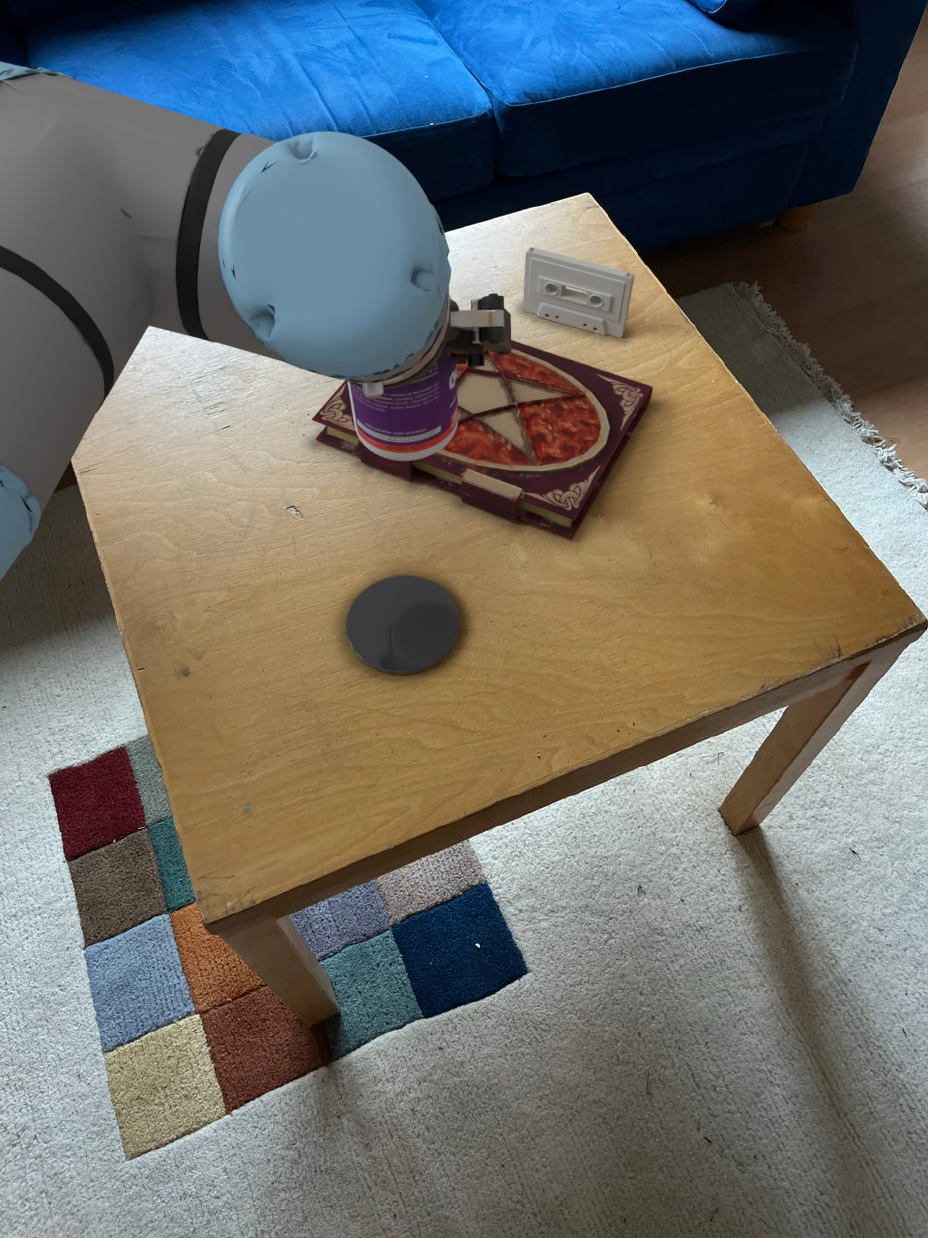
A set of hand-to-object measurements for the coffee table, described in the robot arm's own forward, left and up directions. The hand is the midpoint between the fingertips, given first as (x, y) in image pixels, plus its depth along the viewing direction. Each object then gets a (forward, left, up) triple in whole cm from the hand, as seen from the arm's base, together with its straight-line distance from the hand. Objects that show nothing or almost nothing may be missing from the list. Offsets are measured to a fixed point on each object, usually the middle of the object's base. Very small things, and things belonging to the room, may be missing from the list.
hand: (402, 347), depth 65 cm
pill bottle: (+1, -3, -5) cm, 6 cm away
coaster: (+1, -12, -21) cm, 24 cm away
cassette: (+13, +30, -21) cm, 39 cm away
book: (+5, +13, -21) cm, 25 cm away
